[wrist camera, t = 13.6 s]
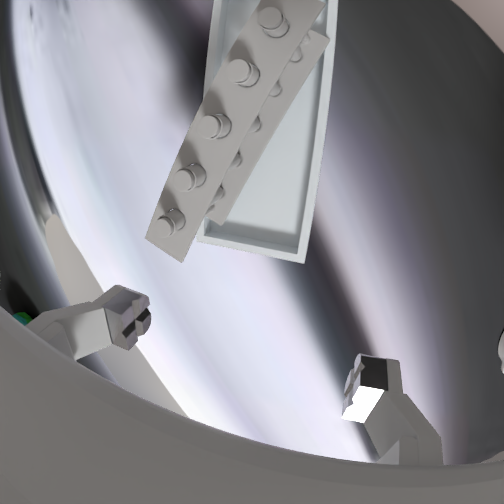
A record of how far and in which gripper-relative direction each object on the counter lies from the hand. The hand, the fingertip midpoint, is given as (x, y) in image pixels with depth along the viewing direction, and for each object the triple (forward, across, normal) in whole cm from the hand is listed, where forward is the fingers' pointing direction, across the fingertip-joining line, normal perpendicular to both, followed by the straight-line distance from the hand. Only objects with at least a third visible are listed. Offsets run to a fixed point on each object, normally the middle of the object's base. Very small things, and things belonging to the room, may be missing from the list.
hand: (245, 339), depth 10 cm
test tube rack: (+24, -7, +7) cm, 26 cm away
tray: (+26, -7, +8) cm, 29 cm away
